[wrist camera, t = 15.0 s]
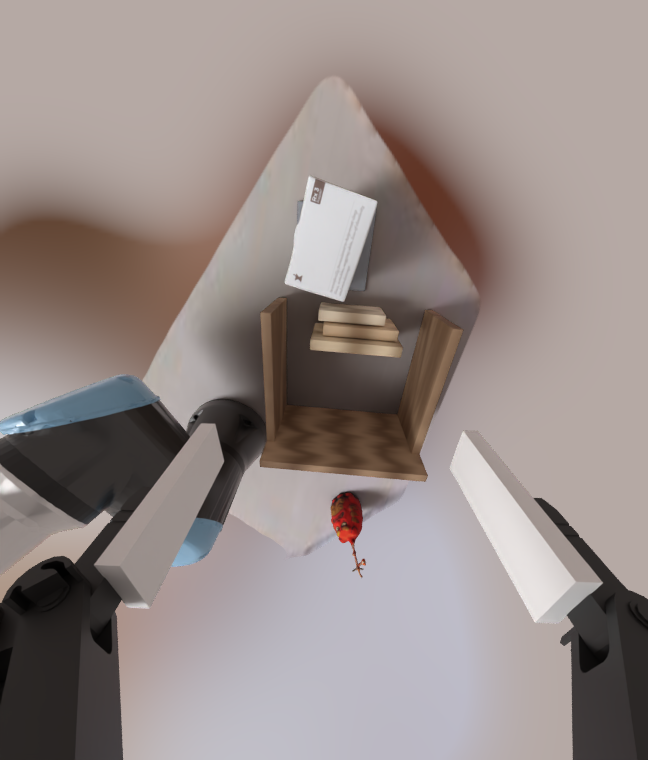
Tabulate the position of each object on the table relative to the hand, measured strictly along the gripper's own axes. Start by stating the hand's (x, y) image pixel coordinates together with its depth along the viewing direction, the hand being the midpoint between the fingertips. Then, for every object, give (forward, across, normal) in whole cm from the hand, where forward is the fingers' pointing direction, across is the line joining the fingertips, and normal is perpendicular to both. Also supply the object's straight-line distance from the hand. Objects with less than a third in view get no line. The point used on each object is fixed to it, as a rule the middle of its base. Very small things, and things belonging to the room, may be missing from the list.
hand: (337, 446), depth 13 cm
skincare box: (+28, 0, -10) cm, 29 cm away
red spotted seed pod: (+29, -5, +44) cm, 52 cm away
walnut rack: (+28, -3, +8) cm, 29 cm away
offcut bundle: (+28, -3, 0) cm, 28 cm away
